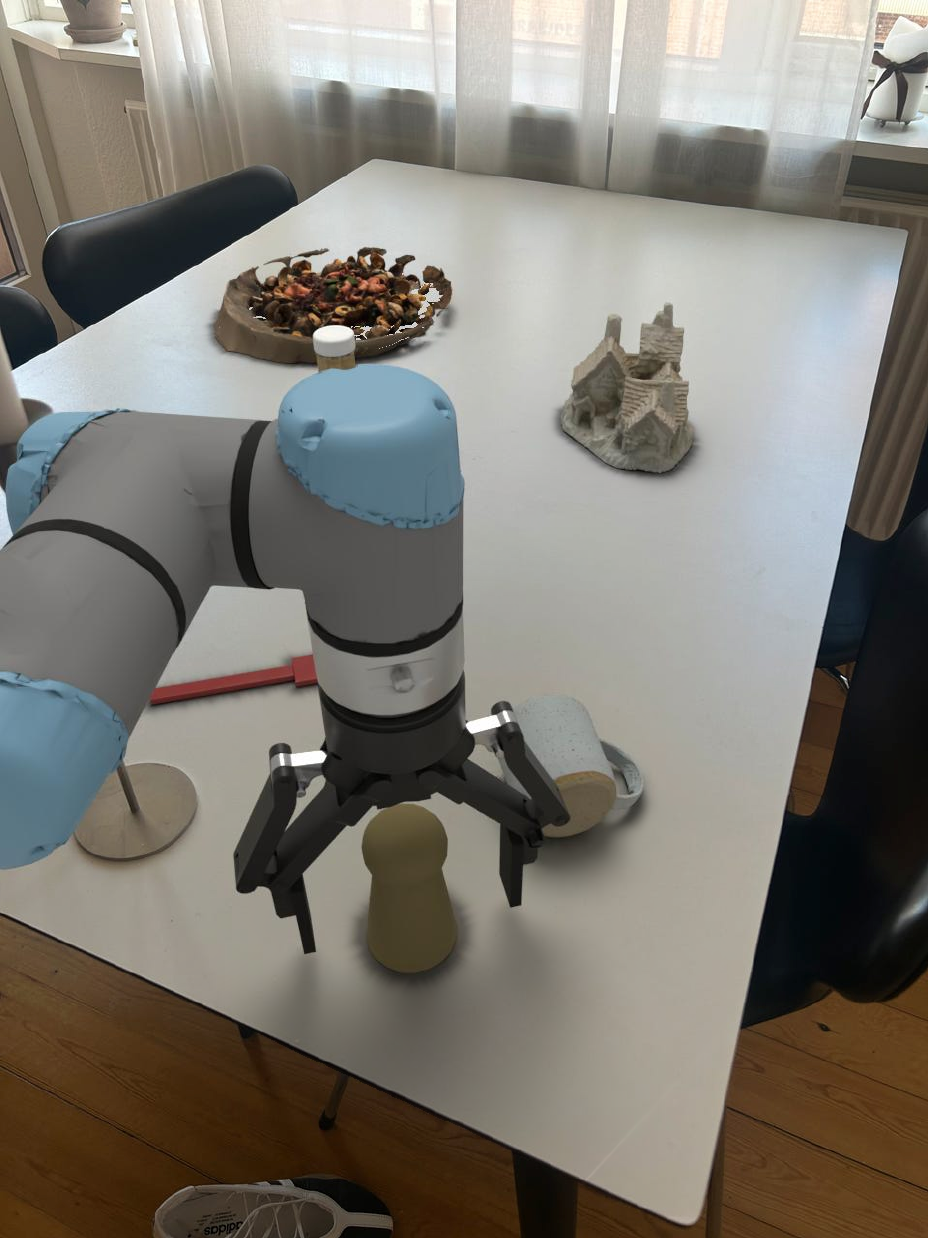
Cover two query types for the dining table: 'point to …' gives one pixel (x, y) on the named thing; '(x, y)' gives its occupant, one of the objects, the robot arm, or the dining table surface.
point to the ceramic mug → (574, 761)
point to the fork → (240, 681)
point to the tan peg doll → (408, 889)
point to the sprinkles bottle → (334, 347)
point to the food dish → (327, 306)
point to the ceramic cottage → (632, 398)
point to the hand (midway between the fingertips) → (410, 912)
